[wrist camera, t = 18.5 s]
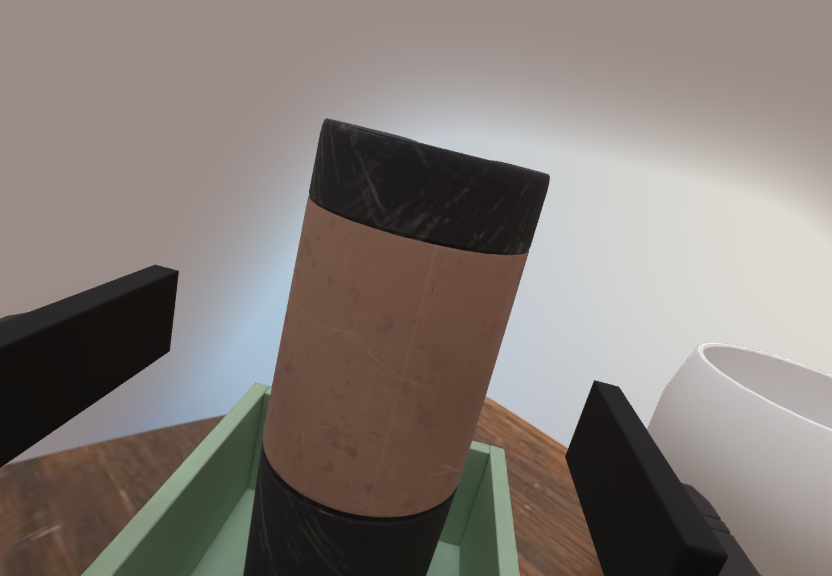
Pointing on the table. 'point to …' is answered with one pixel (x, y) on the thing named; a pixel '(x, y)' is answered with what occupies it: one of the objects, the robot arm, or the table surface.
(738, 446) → the cup
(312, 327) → the travel mug
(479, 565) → the bin
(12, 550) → the table surface
